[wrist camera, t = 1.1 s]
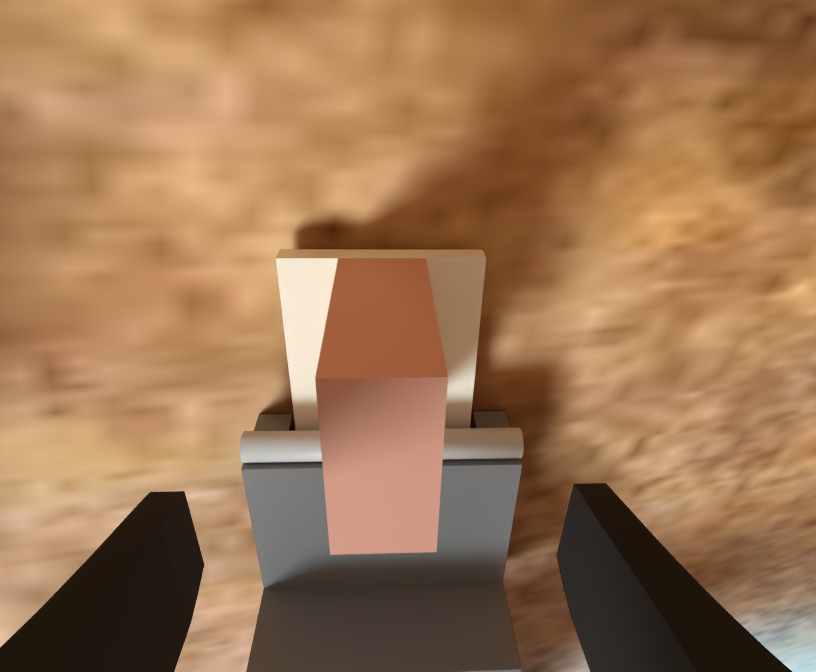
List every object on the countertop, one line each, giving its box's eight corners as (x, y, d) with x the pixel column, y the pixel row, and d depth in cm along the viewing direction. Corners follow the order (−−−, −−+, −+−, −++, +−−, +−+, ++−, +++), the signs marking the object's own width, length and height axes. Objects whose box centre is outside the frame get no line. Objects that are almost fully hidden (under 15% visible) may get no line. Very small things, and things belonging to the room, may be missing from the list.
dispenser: (483, 568, 24) (511, 715, 19) (283, 573, 24) (256, 725, 19) (507, 391, 19) (554, 525, 14) (256, 394, 19) (208, 533, 14)
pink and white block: (452, 578, 24) (474, 757, 18) (316, 582, 23) (294, 764, 18) (482, 249, 16) (539, 376, 10) (280, 249, 16) (220, 379, 10)
